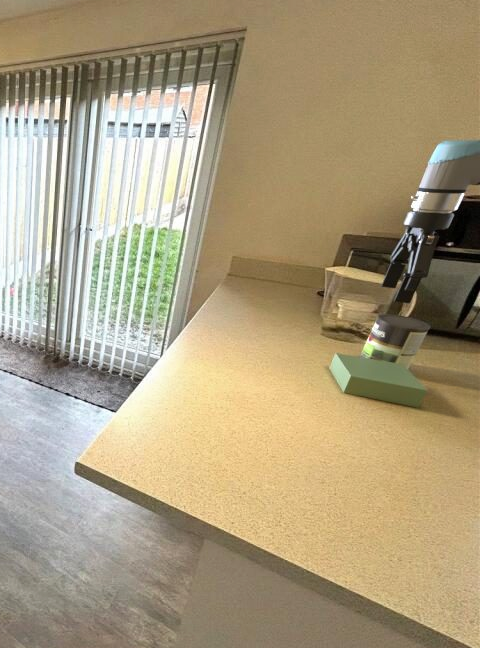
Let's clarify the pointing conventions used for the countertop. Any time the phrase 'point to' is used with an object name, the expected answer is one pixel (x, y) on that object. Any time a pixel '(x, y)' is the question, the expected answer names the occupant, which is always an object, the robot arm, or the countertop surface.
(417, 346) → the coffee can
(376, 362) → the riser block
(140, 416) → the countertop surface
